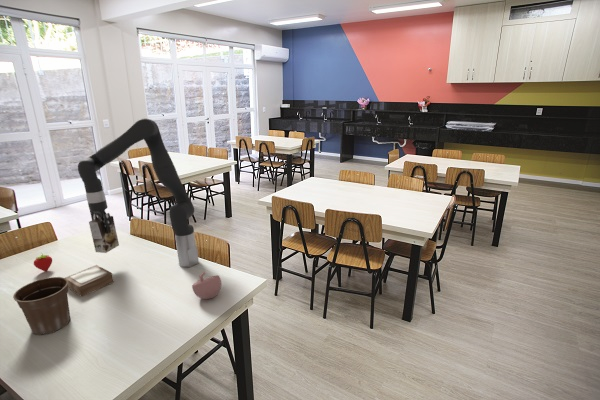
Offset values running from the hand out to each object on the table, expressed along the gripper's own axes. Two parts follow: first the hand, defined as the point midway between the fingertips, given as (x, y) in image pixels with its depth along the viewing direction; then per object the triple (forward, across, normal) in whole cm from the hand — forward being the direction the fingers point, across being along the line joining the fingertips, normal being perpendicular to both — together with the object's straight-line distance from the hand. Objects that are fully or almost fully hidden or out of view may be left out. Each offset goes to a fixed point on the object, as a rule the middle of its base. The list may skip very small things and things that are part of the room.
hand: (103, 231), depth 161 cm
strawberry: (+20, +26, +20) cm, 38 cm away
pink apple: (+21, -62, -9) cm, 66 cm away
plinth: (+20, -7, +14) cm, 26 cm away
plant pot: (+20, -24, +36) cm, 48 cm away
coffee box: (+10, 0, 0) cm, 10 cm away
